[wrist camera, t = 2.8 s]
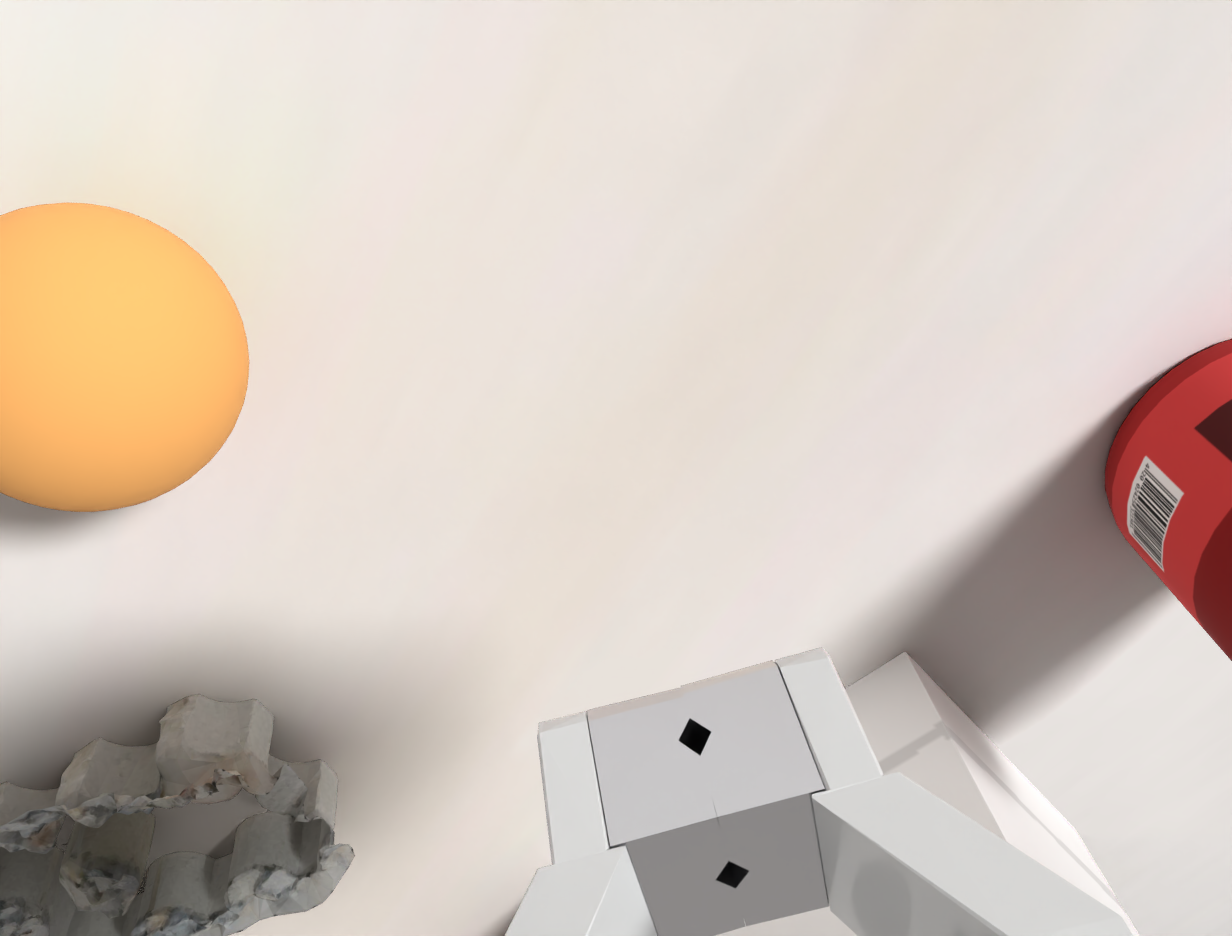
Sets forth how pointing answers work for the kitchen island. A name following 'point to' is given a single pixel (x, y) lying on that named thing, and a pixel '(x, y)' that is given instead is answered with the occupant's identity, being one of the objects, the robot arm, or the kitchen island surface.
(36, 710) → the kitchen island surface
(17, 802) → the egg carton
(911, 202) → the kitchen island surface
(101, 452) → the ball
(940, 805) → the robot arm
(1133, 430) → the canned food
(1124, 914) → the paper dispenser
